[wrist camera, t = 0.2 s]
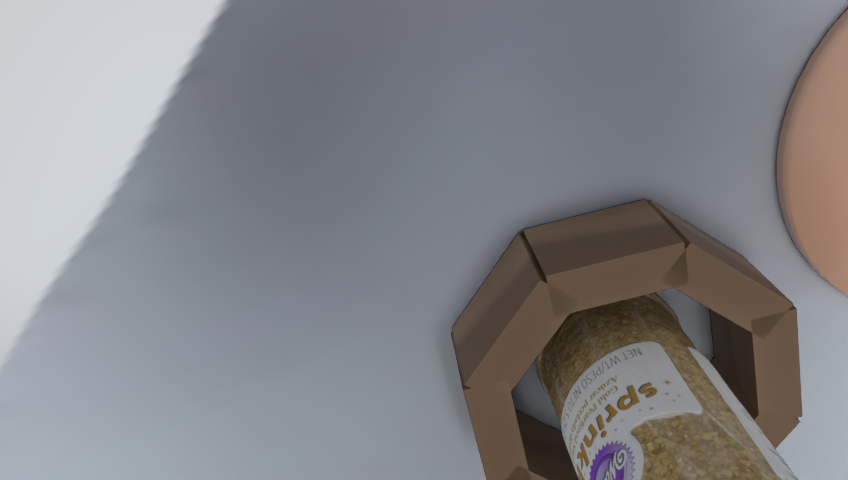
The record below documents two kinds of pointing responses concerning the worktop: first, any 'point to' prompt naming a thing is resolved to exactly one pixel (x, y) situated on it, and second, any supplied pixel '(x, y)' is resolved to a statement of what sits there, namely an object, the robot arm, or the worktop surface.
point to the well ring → (606, 283)
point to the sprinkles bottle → (648, 400)
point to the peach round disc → (818, 159)
